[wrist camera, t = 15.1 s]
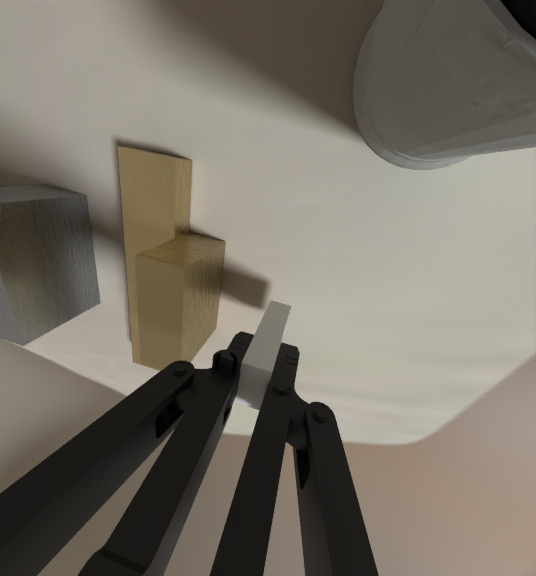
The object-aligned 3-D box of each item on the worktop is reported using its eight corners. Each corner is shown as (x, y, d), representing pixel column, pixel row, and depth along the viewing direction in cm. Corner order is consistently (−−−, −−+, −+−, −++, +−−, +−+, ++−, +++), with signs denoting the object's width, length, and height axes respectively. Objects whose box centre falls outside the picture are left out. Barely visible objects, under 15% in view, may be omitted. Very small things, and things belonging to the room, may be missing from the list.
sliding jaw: (146, 348, 26) (98, 395, 20) (139, 148, 18) (55, 138, 12) (211, 369, 25) (178, 423, 19) (233, 169, 17) (188, 167, 11)
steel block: (65, 291, 25) (-22, 330, 19) (44, 184, 21) (-79, 189, 14) (101, 302, 25) (23, 345, 18) (87, 195, 20) (-21, 205, 14)
